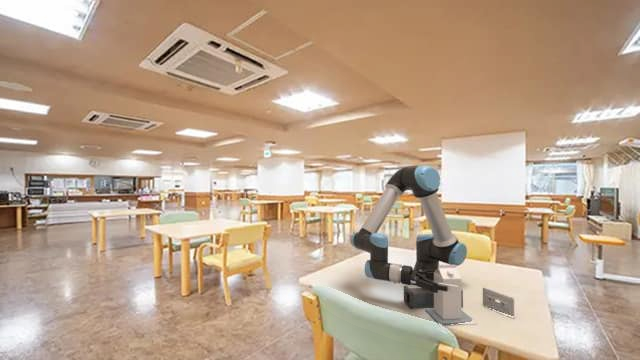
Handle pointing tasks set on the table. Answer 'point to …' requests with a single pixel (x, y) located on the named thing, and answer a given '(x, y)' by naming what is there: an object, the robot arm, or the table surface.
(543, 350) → the table surface
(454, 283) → the milk carton
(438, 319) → the slate mat
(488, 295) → the cassette
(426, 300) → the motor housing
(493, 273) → the table surface
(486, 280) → the table surface
